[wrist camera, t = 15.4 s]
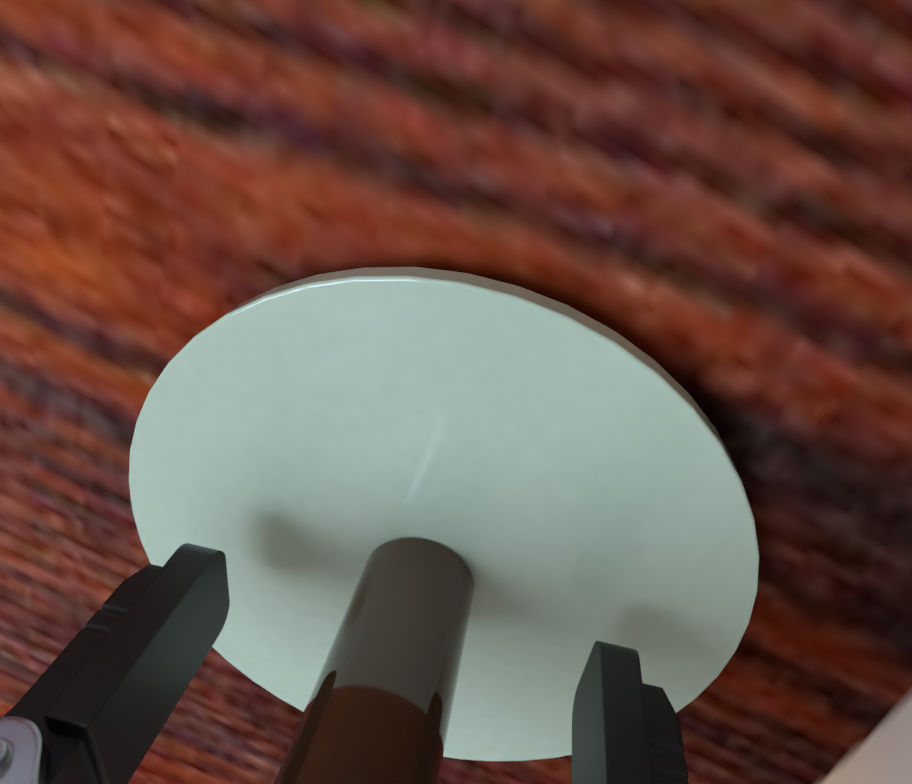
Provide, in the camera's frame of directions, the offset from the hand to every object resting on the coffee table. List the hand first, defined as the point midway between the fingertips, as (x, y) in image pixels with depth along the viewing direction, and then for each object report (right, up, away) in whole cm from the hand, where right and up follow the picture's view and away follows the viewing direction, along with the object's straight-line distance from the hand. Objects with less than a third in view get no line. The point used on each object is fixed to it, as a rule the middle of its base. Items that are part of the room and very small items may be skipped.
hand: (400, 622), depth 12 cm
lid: (0, +1, +2) cm, 2 cm away
